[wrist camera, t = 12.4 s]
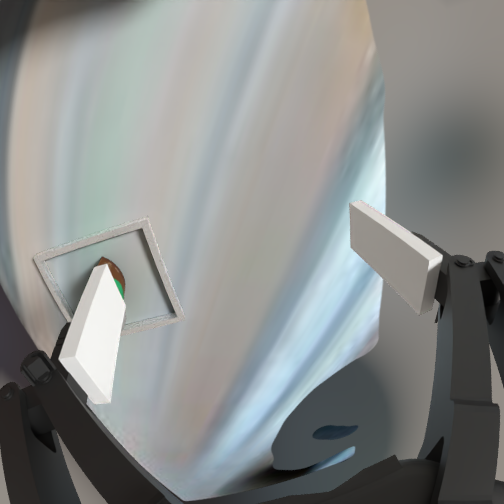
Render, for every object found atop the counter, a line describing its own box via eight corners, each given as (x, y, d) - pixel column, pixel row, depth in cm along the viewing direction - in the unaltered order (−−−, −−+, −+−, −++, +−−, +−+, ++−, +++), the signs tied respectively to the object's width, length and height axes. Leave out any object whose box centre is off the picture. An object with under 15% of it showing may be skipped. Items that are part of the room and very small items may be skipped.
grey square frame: (36, 253, 39) (33, 257, 38) (147, 215, 41) (146, 219, 40) (84, 339, 48) (82, 344, 47) (184, 314, 50) (185, 320, 48)
